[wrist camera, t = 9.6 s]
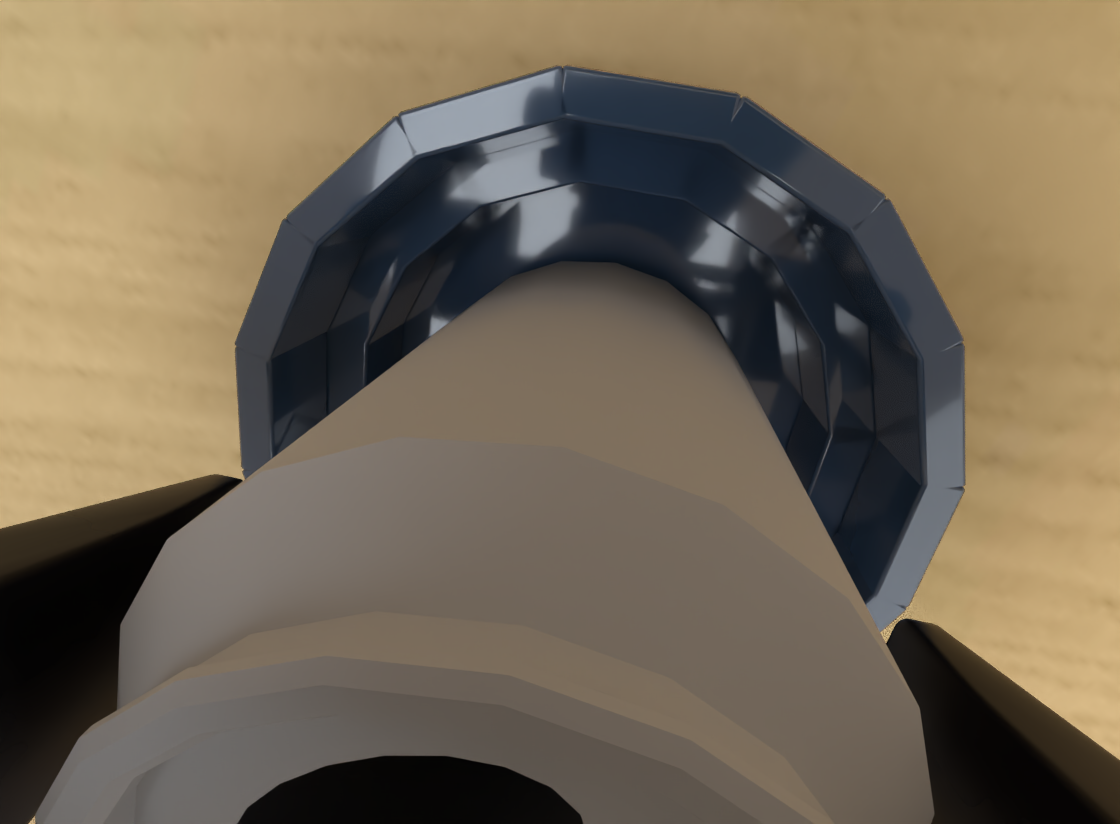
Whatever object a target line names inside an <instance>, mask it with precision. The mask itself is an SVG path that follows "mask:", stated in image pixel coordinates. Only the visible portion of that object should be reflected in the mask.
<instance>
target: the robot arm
mask: <svg viewBox="0 0 1120 824" xmlns="http://www.w3.org/2000/svg"><path fill="white" fill-rule="evenodd" d="M242 481H243V480H241V479H237V478H233V477H228V476H223V475H218V474H213V475H209V476H205V477H201V478H197V479H193V480H189V481H185V482H181V483H177V484H173V485H170V486H166V487H162V488H158V489H154V490H150V491H146V492H142V493H138V494H134V495H131V496H127V497H123V498H119V499H115V500H111V501H107V502H103V503H99V504H95V505H91V506H88V507H84V508H80V509H76V510H72V511H68V512H64V513H60V514H56V515H52V516H48V517H45V518H41V519H37V520H33V521H29V522H25V523H21V524H17V525H13V526H9V527H6V528H2V529H0V824H28V823H29V822H30V821H31V820H32V818H33V817H34V816H35V814H36V812H37V810H38V809H39V807H40V805H41V803H42V802H43V800H44V798H45V796H46V795H47V793H48V791H49V789H50V788H51V786H52V784H53V782H54V781H55V779H56V777H57V775H58V774H59V772H60V770H61V768H62V767H63V765H64V763H65V761H66V760H67V758H68V756H69V754H70V753H71V751H72V749H73V747H74V746H75V744H76V742H77V740H78V739H79V738H80V737H81V736H82V735H83V734H84V733H85V732H86V731H87V730H88V729H89V728H90V727H91V726H92V725H93V724H95V723H97V722H98V721H100V720H102V719H103V718H105V717H107V716H108V715H110V714H112V713H113V712H115V711H117V694H118V671H119V648H120V624H121V623H122V621H123V619H124V617H125V615H126V613H127V612H128V610H129V608H130V606H131V604H132V603H133V601H134V599H135V597H136V595H137V593H138V592H139V590H140V588H141V586H142V584H143V582H144V581H145V579H146V577H147V575H148V573H149V571H150V570H151V568H152V566H153V564H154V562H155V561H156V559H157V557H158V555H159V553H160V551H161V550H162V548H163V546H164V544H165V542H166V540H167V539H168V538H170V537H171V536H172V535H174V534H175V533H176V532H177V531H179V530H180V529H181V528H183V527H184V526H185V525H187V524H188V523H189V522H190V521H192V520H193V519H194V518H196V517H197V516H198V515H200V514H201V513H202V512H203V511H205V510H206V509H207V508H209V507H210V506H211V505H213V504H214V503H215V502H216V501H218V500H219V499H220V498H222V497H223V496H224V495H226V494H227V493H228V492H229V491H231V490H232V489H233V488H235V487H236V486H237V485H239V484H240V483H241V482H242ZM886 645H887V647H888V649H889V651H890V653H891V654H892V656H893V658H894V660H895V662H896V664H897V666H898V668H899V670H900V672H901V673H902V675H903V677H904V679H905V681H906V683H907V685H908V687H909V689H910V691H911V692H912V694H913V696H914V698H915V700H916V702H917V704H918V706H919V708H920V714H921V721H922V728H923V735H924V742H925V750H926V757H927V764H928V771H929V778H930V785H931V792H932V799H933V806H934V813H935V814H934V817H933V820H932V822H931V824H1120V760H1119V759H1117V758H1116V757H1115V756H1113V755H1112V754H1111V753H1109V752H1108V751H1106V750H1105V749H1104V748H1102V747H1101V746H1100V745H1098V744H1097V743H1096V742H1094V741H1093V740H1092V739H1090V738H1089V737H1088V736H1086V735H1085V734H1083V733H1082V732H1081V731H1079V730H1078V729H1077V728H1075V727H1074V726H1073V725H1071V724H1070V723H1069V722H1067V721H1066V720H1065V719H1063V718H1062V717H1061V716H1059V715H1058V714H1056V713H1055V712H1054V711H1052V710H1051V709H1050V708H1048V707H1047V706H1046V705H1044V704H1043V703H1042V702H1040V701H1039V700H1038V699H1036V698H1035V697H1033V696H1032V695H1031V694H1029V693H1028V692H1027V691H1025V690H1024V689H1023V688H1021V687H1020V686H1019V685H1017V684H1016V683H1015V682H1013V681H1012V680H1011V679H1009V678H1008V677H1006V676H1005V675H1004V674H1002V673H1001V672H1000V671H998V670H997V669H996V668H994V667H993V666H992V665H990V664H989V663H988V662H986V661H985V660H984V659H982V658H981V657H979V656H978V655H977V654H975V653H974V652H973V651H971V650H970V649H969V648H967V647H966V646H965V645H963V644H962V643H961V642H959V641H958V640H956V639H955V638H954V637H952V636H951V635H950V634H948V633H947V632H946V631H944V630H943V629H942V628H940V627H939V626H937V625H934V624H931V623H926V622H922V621H917V620H912V619H903V620H900V621H899V622H898V623H897V624H896V625H895V627H894V629H893V631H892V633H891V635H890V637H889V639H888V641H887V643H886Z"/></svg>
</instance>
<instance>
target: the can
mask: <svg viewBox="0 0 1120 824" xmlns="http://www.w3.org/2000/svg"><path fill="white" fill-rule="evenodd" d="M934 814H935V813H934V806H933V799H932V792H931V785H930V778H929V771H928V764H927V757H926V750H925V742H924V735H923V728H922V721H921V714H920V708H919V706H918V704H917V702H916V700H915V698H914V696H913V694H912V692H911V691H910V689H909V687H908V685H907V683H906V681H905V679H904V677H903V675H902V673H901V672H900V670H899V668H898V666H897V664H896V662H895V660H894V658H893V656H892V654H891V653H890V651H889V649H888V647H887V645H886V643H885V641H884V639H883V637H882V635H881V633H880V632H879V630H878V628H877V626H876V624H875V622H874V620H873V618H872V616H871V614H870V613H869V611H868V609H867V607H866V605H865V603H864V601H863V599H862V597H861V595H860V594H859V592H858V590H857V588H856V586H855V584H854V582H853V580H852V578H851V576H850V574H849V573H848V571H847V569H846V567H845V565H844V563H843V561H842V559H841V557H840V555H839V554H838V552H837V550H836V548H835V546H834V544H833V542H832V540H831V538H830V536H829V535H828V533H827V531H826V529H825V527H824V525H823V523H822V521H821V519H820V517H819V515H818V514H817V512H816V510H815V508H814V506H813V504H812V502H811V500H810V498H809V496H808V495H807V493H806V491H805V489H804V487H803V485H802V483H801V481H800V479H799V477H798V475H797V474H796V472H795V470H794V468H793V466H792V464H791V462H790V460H789V458H788V456H787V455H786V453H785V451H784V449H783V447H782V445H781V443H780V441H779V439H778V437H777V436H776V434H775V432H774V430H773V428H772V426H771V424H770V422H769V420H768V418H767V416H766V415H765V413H764V411H763V409H762V407H761V405H760V403H759V401H758V399H757V397H756V396H755V394H754V392H753V390H752V388H751V386H750V384H749V382H748V380H747V378H746V377H745V375H744V373H743V371H742V369H741V367H740V365H739V363H738V361H737V359H736V358H735V356H734V354H733V353H732V351H731V350H730V348H729V346H728V345H727V343H726V342H725V340H724V339H723V337H722V335H721V334H720V332H719V331H718V329H717V327H716V326H715V324H714V323H713V321H712V319H711V318H710V316H709V315H708V314H707V313H706V312H704V311H703V310H702V309H701V308H699V307H698V306H697V305H696V304H694V303H693V302H692V301H691V300H689V299H688V298H687V297H686V296H684V295H683V294H682V293H681V292H679V291H678V290H677V289H676V288H674V287H673V286H672V285H671V284H669V283H668V282H667V281H664V280H662V279H659V278H656V277H653V276H651V275H648V274H645V273H642V272H640V271H637V270H634V269H631V268H629V267H626V266H623V265H620V264H618V263H608V262H572V261H560V262H557V263H554V264H550V265H547V266H544V267H541V268H537V269H534V270H531V271H528V272H524V273H521V274H518V275H514V276H511V277H510V278H508V279H507V280H506V281H504V282H503V283H501V284H500V285H499V286H497V287H496V288H495V289H493V290H492V291H490V292H489V293H488V294H486V295H485V296H484V297H482V298H481V299H479V300H478V301H477V302H475V303H474V304H473V305H471V306H470V307H469V308H467V309H466V310H465V311H463V312H462V313H461V314H459V315H458V316H457V317H456V318H454V319H453V320H452V321H450V322H449V323H448V324H446V325H445V326H444V327H443V328H441V329H440V330H439V331H437V332H436V333H435V334H433V335H432V336H431V337H430V338H428V339H427V340H426V341H424V342H423V343H422V344H420V345H419V346H418V347H417V348H415V349H414V350H413V351H411V352H410V353H409V354H408V355H406V356H405V357H404V358H402V359H401V360H400V361H398V362H397V363H396V364H395V365H393V366H392V367H391V368H389V369H388V370H387V371H385V372H384V373H383V374H382V375H380V376H379V377H378V378H376V379H375V380H374V381H372V382H371V383H370V384H369V385H367V386H366V387H365V388H363V389H362V390H361V391H359V392H358V393H357V394H356V395H354V396H353V397H352V398H350V399H349V400H348V401H346V402H345V403H344V404H343V405H341V406H340V407H339V408H337V409H336V410H335V411H333V412H332V413H331V414H330V415H328V416H327V417H326V418H324V419H323V420H322V421H320V422H319V423H318V424H317V425H315V426H314V427H313V428H311V429H310V430H309V431H307V432H306V433H305V434H304V435H302V436H301V437H300V438H298V439H297V440H296V441H294V442H293V443H292V444H291V445H289V446H288V447H287V448H285V449H284V450H283V451H281V452H280V453H279V454H278V455H276V456H275V457H274V458H272V459H271V460H270V461H268V462H267V463H266V464H265V465H263V466H262V467H261V468H259V469H258V470H257V471H255V472H254V473H253V474H252V475H250V476H249V477H248V478H246V479H245V480H244V481H242V482H241V483H240V484H239V485H237V486H236V487H235V488H233V489H232V490H231V491H229V492H228V493H227V494H226V495H224V496H223V497H222V498H220V499H219V500H218V501H216V502H215V503H214V504H213V505H211V506H210V507H209V508H207V509H206V510H205V511H203V512H202V513H201V514H200V515H198V516H197V517H196V518H194V519H193V520H192V521H190V522H189V523H188V524H187V525H185V526H184V527H183V528H181V529H180V530H179V531H177V532H176V533H175V534H174V535H172V536H171V537H170V538H168V539H167V540H166V542H165V544H164V546H163V548H162V550H161V551H160V553H159V555H158V557H157V559H156V561H155V562H154V564H153V566H152V568H151V570H150V571H149V573H148V575H147V577H146V579H145V581H144V582H143V584H142V586H141V588H140V590H139V592H138V593H137V595H136V597H135V599H134V601H133V603H132V604H131V606H130V608H129V610H128V612H127V613H126V615H125V617H124V619H123V621H122V623H121V624H120V648H119V671H118V694H117V711H115V712H113V713H112V714H110V715H108V716H107V717H105V718H103V719H102V720H100V721H98V722H97V723H95V724H93V725H92V726H91V727H90V728H89V729H88V730H87V731H86V732H85V733H84V734H83V735H82V736H81V737H80V738H79V739H78V740H77V742H76V744H75V746H74V747H73V749H72V751H71V753H70V754H69V756H68V758H67V760H66V761H65V763H64V765H63V767H62V768H61V770H60V772H59V774H58V775H57V777H56V779H55V781H54V782H53V784H52V786H51V788H50V789H49V791H48V793H47V795H46V796H45V798H44V800H43V802H42V803H41V805H40V807H39V809H38V810H37V812H36V814H35V821H36V824H931V822H932V820H933V817H934Z"/></svg>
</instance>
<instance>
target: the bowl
mask: <svg viewBox="0 0 1120 824" xmlns="http://www.w3.org/2000/svg"><path fill="white" fill-rule="evenodd" d="M560 261H572V262H608V263H618V264H620V265H623V266H626V267H629V268H631V269H634V270H637V271H640V272H642V273H645V274H648V275H651V276H653V277H656V278H659V279H662V280H664V281H667V282H668V283H669V284H671V285H672V286H673V287H674V288H676V289H677V290H678V291H679V292H681V293H682V294H683V295H684V296H686V297H687V298H688V299H689V300H691V301H692V302H693V303H694V304H696V305H697V306H698V307H699V308H701V309H702V310H703V311H704V312H706V313H707V314H708V315H709V316H710V318H711V319H712V321H713V323H714V324H715V326H716V327H717V329H718V331H719V332H720V334H721V335H722V337H723V339H724V340H725V342H726V343H727V345H728V346H729V348H730V350H731V351H732V353H733V354H734V356H735V358H736V359H737V361H738V363H739V365H740V367H741V369H742V371H743V373H744V375H745V377H746V378H747V380H748V382H749V384H750V386H751V388H752V390H753V392H754V394H755V396H756V397H757V399H758V401H759V403H760V405H761V407H762V409H763V411H764V413H765V415H766V416H767V418H768V420H769V422H770V424H771V426H772V428H773V430H774V432H775V434H776V436H777V437H778V439H779V441H780V443H781V445H782V447H783V449H784V451H785V453H786V455H787V456H788V458H789V460H790V462H791V464H792V466H793V468H794V470H795V472H796V474H797V475H798V477H799V479H800V481H801V483H802V485H803V487H804V489H805V491H806V493H807V495H808V496H809V498H810V500H811V502H812V504H813V506H814V508H815V510H816V512H817V514H818V515H819V517H820V519H821V521H822V523H823V525H824V527H825V529H826V531H827V533H828V535H829V536H830V538H831V540H832V542H833V544H834V546H835V548H836V550H837V552H838V554H839V555H840V557H841V559H842V561H843V563H844V565H845V567H846V569H847V571H848V573H849V574H850V576H851V578H852V580H853V582H854V584H855V586H856V588H857V590H858V592H859V594H860V595H861V597H862V599H863V601H864V603H865V605H866V607H867V609H868V611H869V613H870V614H871V616H872V618H873V620H874V622H875V624H876V626H877V628H878V630H879V632H882V631H883V630H884V629H885V628H886V627H887V626H888V625H890V624H891V623H892V622H893V621H894V620H895V619H896V618H898V617H899V616H900V615H901V614H902V613H903V612H904V611H905V610H906V607H908V606H909V605H910V603H911V601H912V599H913V597H914V595H915V593H916V590H917V588H918V586H919V584H920V582H921V580H922V578H923V576H924V574H925V572H926V570H927V568H928V566H929V564H930V562H931V559H932V557H933V555H934V553H935V551H936V549H937V547H938V545H939V543H940V541H941V539H942V537H943V535H944V533H945V531H946V529H947V526H948V524H949V522H950V520H951V518H952V516H953V514H954V512H955V510H956V508H957V506H958V504H959V502H960V500H961V498H962V495H963V493H964V490H965V489H964V486H965V346H964V344H963V336H962V334H961V332H960V330H959V328H958V326H957V325H956V323H955V321H954V319H953V317H952V315H951V313H950V311H949V309H948V308H947V306H946V304H945V302H944V300H943V298H942V296H941V294H940V292H939V290H938V289H937V287H936V285H935V283H934V281H933V279H932V277H931V275H930V273H929V271H928V270H927V268H926V266H925V264H924V262H923V260H922V258H921V256H920V254H919V252H918V251H917V249H916V247H915V245H914V243H913V241H912V239H911V237H910V235H909V233H908V232H907V230H906V228H905V226H904V224H903V222H902V220H901V218H900V216H899V214H898V213H897V211H896V209H895V207H894V205H893V203H892V201H891V200H890V199H888V198H886V196H885V194H884V193H883V192H882V191H880V190H879V189H878V188H876V187H875V186H873V185H872V184H870V183H869V182H868V181H866V180H865V179H863V178H862V177H861V176H859V175H858V174H856V173H855V172H853V171H852V170H851V169H849V168H848V167H846V166H845V165H844V164H842V163H841V162H839V161H838V160H836V159H835V158H834V157H832V156H831V155H829V154H828V153H827V152H825V151H824V150H822V149H821V148H819V147H818V146H817V145H815V144H814V143H812V142H811V141H810V140H808V139H807V138H805V137H804V136H802V135H801V134H800V133H798V132H797V131H795V130H794V129H793V128H791V127H790V126H788V125H787V124H785V123H784V122H783V121H781V120H780V119H778V118H777V117H776V116H774V115H773V114H771V113H770V112H768V111H767V110H766V109H764V108H763V107H761V106H760V105H759V104H757V103H756V102H754V101H753V100H751V99H750V98H749V97H746V96H742V97H741V95H740V94H738V93H737V92H732V91H726V90H720V89H714V88H707V87H701V86H695V85H689V84H683V83H677V82H670V81H664V80H658V79H652V78H646V77H640V76H633V75H627V74H621V73H615V72H609V71H603V70H596V69H590V68H584V67H578V66H572V65H566V66H563V68H562V66H560V65H556V66H553V67H549V68H546V69H543V70H539V71H536V72H533V73H529V74H526V75H523V76H519V77H516V78H512V79H509V80H506V81H502V82H499V83H496V84H492V85H489V86H486V87H482V88H479V89H475V90H472V91H469V92H465V93H462V94H459V95H455V96H452V97H449V98H445V99H442V100H438V101H435V102H432V103H428V104H425V105H422V106H418V107H415V108H412V109H408V110H405V111H401V112H400V113H399V114H398V116H394V117H393V118H391V119H390V120H389V121H388V122H387V123H386V124H385V125H384V126H383V127H382V128H381V129H380V130H378V131H377V132H376V133H375V134H374V135H373V136H372V137H371V138H370V139H369V140H368V141H367V142H365V143H364V144H363V145H362V146H361V147H360V148H359V149H358V150H357V151H356V152H355V153H354V154H352V155H351V156H350V157H349V158H348V159H347V160H346V161H345V162H344V163H343V164H342V165H341V166H339V167H338V168H337V169H336V170H335V171H334V172H333V173H332V174H331V175H330V176H329V177H328V178H326V179H325V180H324V181H323V182H322V183H321V184H320V185H319V186H318V187H317V188H316V189H315V190H313V191H312V192H311V193H310V194H309V195H308V196H307V197H306V198H305V199H304V200H303V201H302V202H300V203H299V204H298V205H297V206H296V207H295V208H294V209H293V210H292V211H291V212H290V213H289V214H288V215H287V217H286V218H285V219H283V220H282V223H281V225H280V228H279V230H278V233H277V236H276V238H275V241H274V243H273V246H272V248H271V251H270V254H269V256H268V259H267V261H266V264H265V266H264V269H263V272H262V274H261V277H260V279H259V282H258V285H257V287H256V290H255V292H254V295H253V297H252V300H251V303H250V305H249V308H248V310H247V313H246V315H245V318H244V321H243V323H242V326H241V328H240V331H239V334H238V336H237V339H236V341H235V345H236V348H235V361H236V379H237V397H238V415H239V433H240V451H241V467H242V469H244V470H243V471H242V472H243V475H244V477H245V479H246V478H248V477H249V476H250V475H252V474H253V473H254V472H255V471H257V470H258V469H259V468H261V467H262V466H263V465H265V464H266V463H267V462H268V461H270V460H271V459H272V458H274V457H275V456H276V455H278V454H279V453H280V452H281V451H283V450H284V449H285V448H287V447H288V446H289V445H291V444H292V443H293V442H294V441H296V440H297V439H298V438H300V437H301V436H302V435H304V434H305V433H306V432H307V431H309V430H310V429H311V428H313V427H314V426H315V425H317V424H318V423H319V422H320V421H322V420H323V419H324V418H326V417H327V416H328V415H330V414H331V413H332V412H333V411H335V410H336V409H337V408H339V407H340V406H341V405H343V404H344V403H345V402H346V401H348V400H349V399H350V398H352V397H353V396H354V395H356V394H357V393H358V392H359V391H361V390H362V389H363V388H365V387H366V386H367V385H369V384H370V383H371V382H372V381H374V380H375V379H376V378H378V377H379V376H380V375H382V374H383V373H384V372H385V371H387V370H388V369H389V368H391V367H392V366H393V365H395V364H396V363H397V362H398V361H400V360H401V359H402V358H404V357H405V356H406V355H408V354H409V353H410V352H411V351H413V350H414V349H415V348H417V347H418V346H419V345H420V344H422V343H423V342H424V341H426V340H427V339H428V338H430V337H431V336H432V335H433V334H435V333H436V332H437V331H439V330H440V329H441V328H443V327H444V326H445V325H446V324H448V323H449V322H450V321H452V320H453V319H454V318H456V317H457V316H458V315H459V314H461V313H462V312H463V311H465V310H466V309H467V308H469V307H470V306H471V305H473V304H474V303H475V302H477V301H478V300H479V299H481V298H482V297H484V296H485V295H486V294H488V293H489V292H490V291H492V290H493V289H495V288H496V287H497V286H499V285H500V284H501V283H503V282H504V281H506V280H507V279H508V278H510V277H511V276H514V275H518V274H521V273H524V272H528V271H531V270H534V269H537V268H541V267H544V266H547V265H550V264H554V263H557V262H560Z"/></svg>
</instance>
